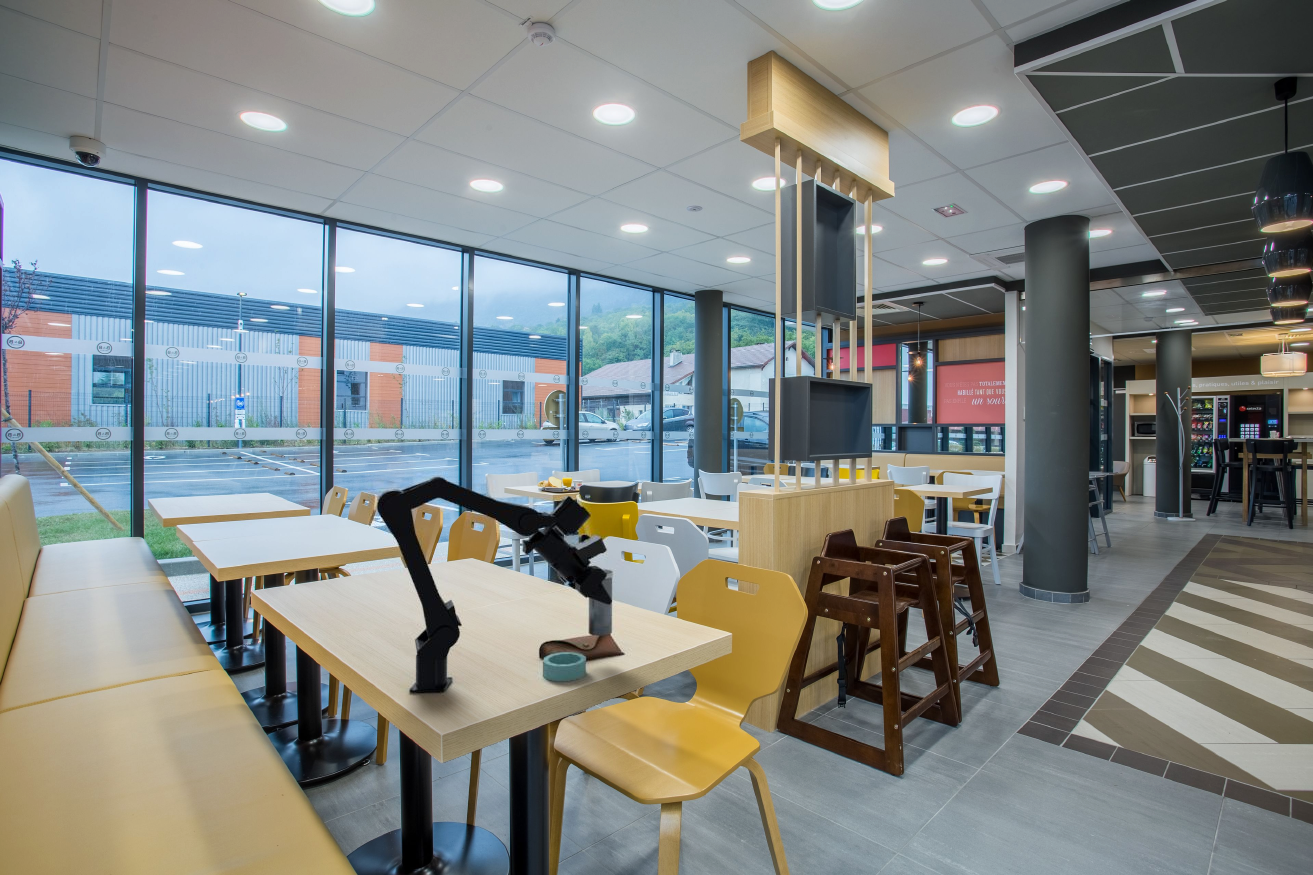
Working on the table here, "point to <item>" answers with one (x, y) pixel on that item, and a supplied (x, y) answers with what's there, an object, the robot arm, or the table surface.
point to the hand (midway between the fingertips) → (606, 600)
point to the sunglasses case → (582, 647)
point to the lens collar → (564, 666)
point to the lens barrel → (601, 611)
